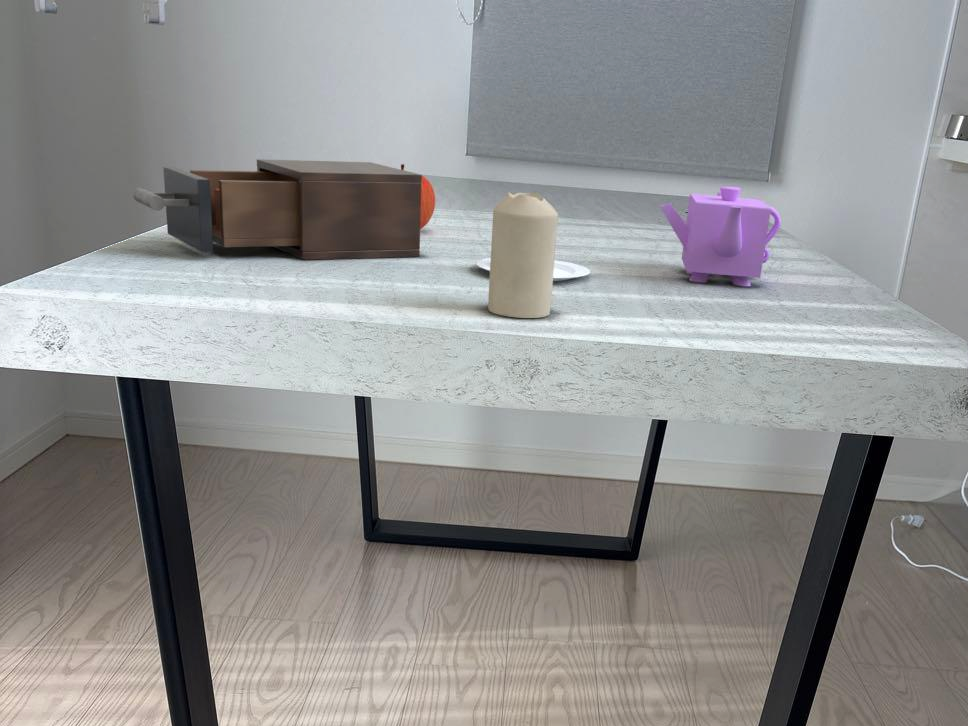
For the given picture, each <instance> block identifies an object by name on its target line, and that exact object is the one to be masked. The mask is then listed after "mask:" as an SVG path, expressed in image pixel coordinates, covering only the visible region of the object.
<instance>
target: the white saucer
mask: <svg viewBox="0 0 968 726" xmlns="http://www.w3.org/2000/svg"><path fill="white" fill-rule="evenodd" d="M490 261H491V257H485V258H482V259H479V260H477V261H476V262H475V264H476V266H477V267H479V268H480V269H482V270H485V271H488V272H489V273H490ZM590 273H591V270H590V269H589V268H587V267H585V266H583V265H580V264H576V263H573V262H569V261H563V260H557V259H555V260H554V273H553V282H559V281H567V280H572V279H575V278H582V277H585V276H587V275H589V274H590Z"/></svg>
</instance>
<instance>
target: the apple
mask: <svg viewBox="0 0 968 726" xmlns="http://www.w3.org/2000/svg"><path fill="white" fill-rule="evenodd" d="M400 170H404V171H405V164H404V163H401V164H400ZM421 183H422V184H421V220H420V230H421V229H423V228H424V227H425V226H426V225H428V223H429V222H430V220H431V219H432V216H433V215H434V211H435V206H436V194H435V190H434V187H433V185H432V183H431V182H430V181H429V179H428V178H426V176H424V175H422V182H421Z"/></svg>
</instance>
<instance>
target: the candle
mask: <svg viewBox="0 0 968 726" xmlns="http://www.w3.org/2000/svg"><path fill="white" fill-rule="evenodd" d="M558 221H559V213H558V211H557V210H556V209H555V208H554V207H553V205H551V204H550V203H549V202H548V201H547V200H546V199H545V198H544V197H543V196H541V195H540V194H539V193H537V192H531V193H530V192H529V193H527V192H517V193H515V194H512V193H511V192H507V194H506V195H505V196H504V197H503V198H502V199H501V201H500V202H498V204H497V205H496V206H495V207H494V208H493V210H492V225H491V226H492V228H491V244H490V245H491V248H490V258H491V261H490V272H489V281H488V301H487V303H488V304H487V306H488V307H487V308H488V311H489V312H490V313H493V314H495V315H499V316H502V317H503V316H505V317H508V318H518V319H519V318H520V319H538V318H539V319H540V318H545V317H547V316H549V315H550V313H551V308H552V296H553V284H554V283H553V282H554V281H553V273H554V260H556V246H557V233H558Z"/></svg>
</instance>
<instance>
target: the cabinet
mask: <svg viewBox="0 0 968 726" xmlns="http://www.w3.org/2000/svg"><path fill="white" fill-rule="evenodd" d="M256 171H269V172H275V173H278V174H282V175H285V176H288V177H291V178H295V179H298V180H299V232H300V246H272V247H273V248H275V249H278V250H280V251H283V252H284V253H287V254H289V255H291V256H292V257H293V256H294V257H295V258H298V259H301V260H302V261H311V260H313V261H314V260H348V259H349V260H350V259H352V260H353V259H383V258H384V259H388V258H420V253H421V251H420V249H421V229H420V220H421V184H422V183H421V182H422V176H423V175H422V174H420V173H416V172H413V171H407V170H405V169H404V170H401V168H400V169H399V168H396V167H392V166H388V165H383V164H380V163H379V164H378V163H376V162H370V161H369V162H368V161H333V160H332V161H331V160H298V159H297V160H294V159H263V158H262V159H258V158H257V159H256Z"/></svg>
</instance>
